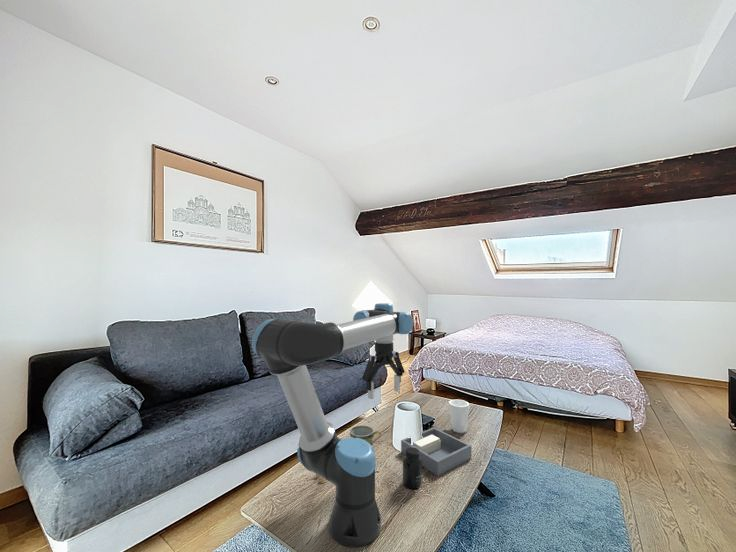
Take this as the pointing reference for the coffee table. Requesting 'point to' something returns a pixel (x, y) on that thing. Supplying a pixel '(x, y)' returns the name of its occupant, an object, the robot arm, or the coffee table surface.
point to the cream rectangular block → (428, 444)
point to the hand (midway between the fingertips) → (384, 394)
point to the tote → (441, 452)
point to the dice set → (320, 478)
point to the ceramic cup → (364, 433)
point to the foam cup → (459, 415)
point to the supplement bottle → (412, 469)
